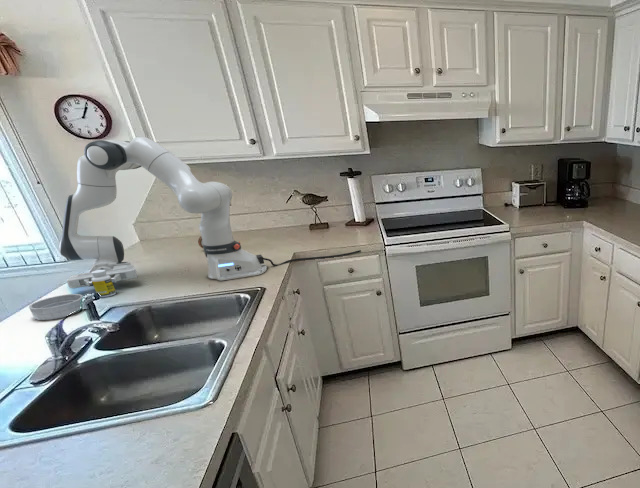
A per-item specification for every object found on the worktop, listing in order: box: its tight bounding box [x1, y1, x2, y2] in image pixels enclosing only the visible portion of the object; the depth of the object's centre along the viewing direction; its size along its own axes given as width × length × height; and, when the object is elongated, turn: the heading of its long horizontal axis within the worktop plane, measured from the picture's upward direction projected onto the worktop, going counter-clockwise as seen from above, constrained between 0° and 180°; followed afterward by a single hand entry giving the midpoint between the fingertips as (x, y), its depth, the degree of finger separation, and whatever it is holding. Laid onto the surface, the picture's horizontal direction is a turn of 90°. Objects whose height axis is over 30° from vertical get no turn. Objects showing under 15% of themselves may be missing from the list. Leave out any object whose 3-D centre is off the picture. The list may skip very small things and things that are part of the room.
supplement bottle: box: [91, 270, 117, 298], centre depth 157 cm, size 5×5×10 cm
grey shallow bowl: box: [28, 293, 84, 321], centre depth 143 cm, size 13×13×4 cm
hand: (102, 282), depth 156 cm, fingers closed on supplement bottle, 5 cm apart
